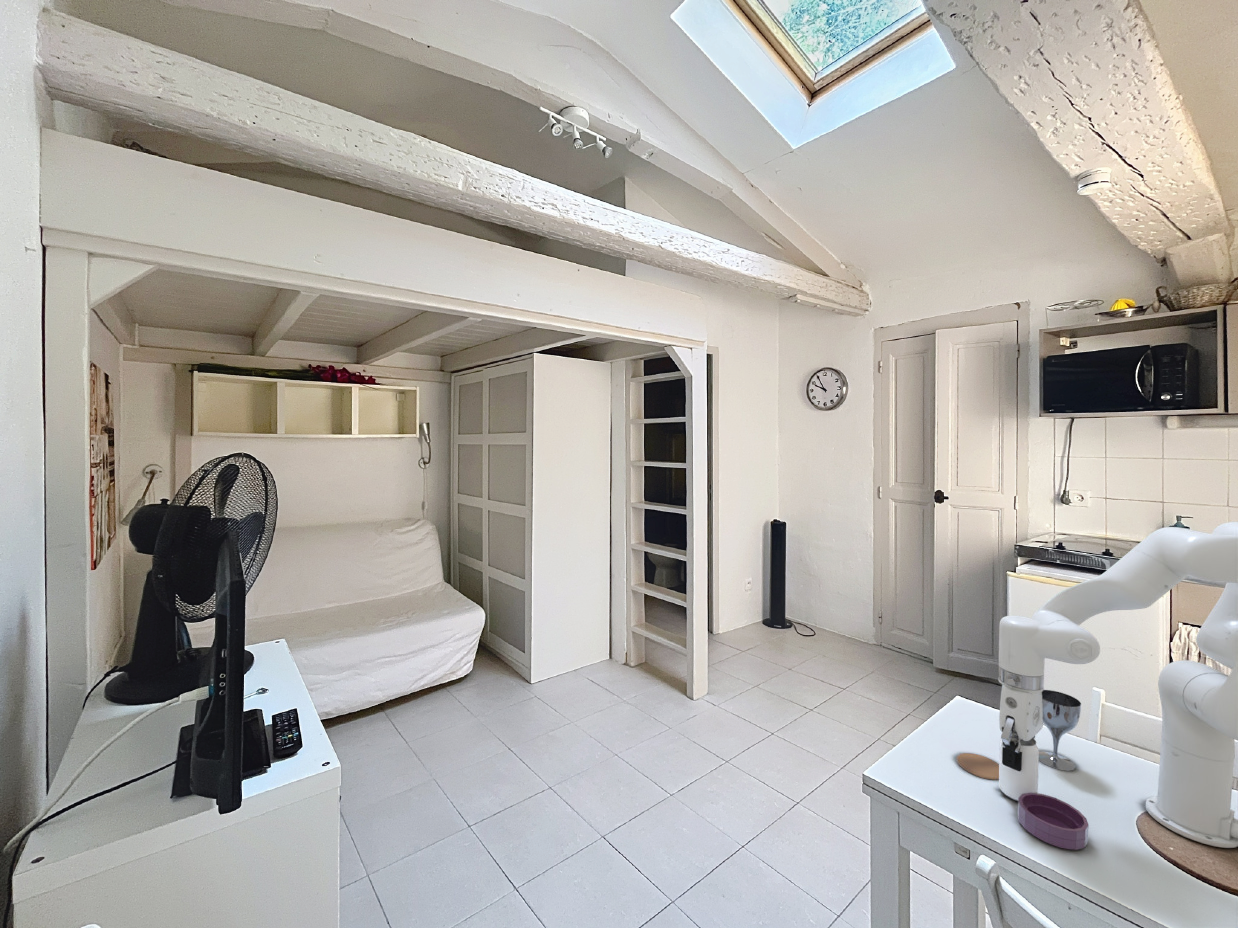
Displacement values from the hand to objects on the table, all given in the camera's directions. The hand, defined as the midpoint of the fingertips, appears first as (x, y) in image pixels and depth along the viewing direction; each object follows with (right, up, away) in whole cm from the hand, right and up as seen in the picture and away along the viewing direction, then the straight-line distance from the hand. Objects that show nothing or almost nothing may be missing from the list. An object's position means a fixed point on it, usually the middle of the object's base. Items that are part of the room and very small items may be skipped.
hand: (1018, 760), depth 109 cm
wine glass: (+18, -7, +12) cm, 23 cm away
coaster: (-1, -7, +10) cm, 12 cm away
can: (0, -7, 0) cm, 7 cm away
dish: (-1, -8, -9) cm, 12 cm away
